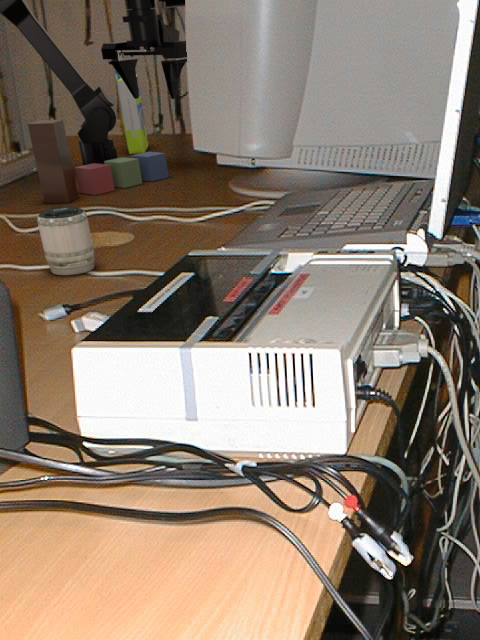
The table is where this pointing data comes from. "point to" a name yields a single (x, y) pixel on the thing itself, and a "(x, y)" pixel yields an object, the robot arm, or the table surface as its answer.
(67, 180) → the tall block
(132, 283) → the table surface
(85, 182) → the cube
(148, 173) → the cube
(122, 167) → the cube
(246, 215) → the table surface
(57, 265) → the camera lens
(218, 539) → the table surface
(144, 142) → the box
